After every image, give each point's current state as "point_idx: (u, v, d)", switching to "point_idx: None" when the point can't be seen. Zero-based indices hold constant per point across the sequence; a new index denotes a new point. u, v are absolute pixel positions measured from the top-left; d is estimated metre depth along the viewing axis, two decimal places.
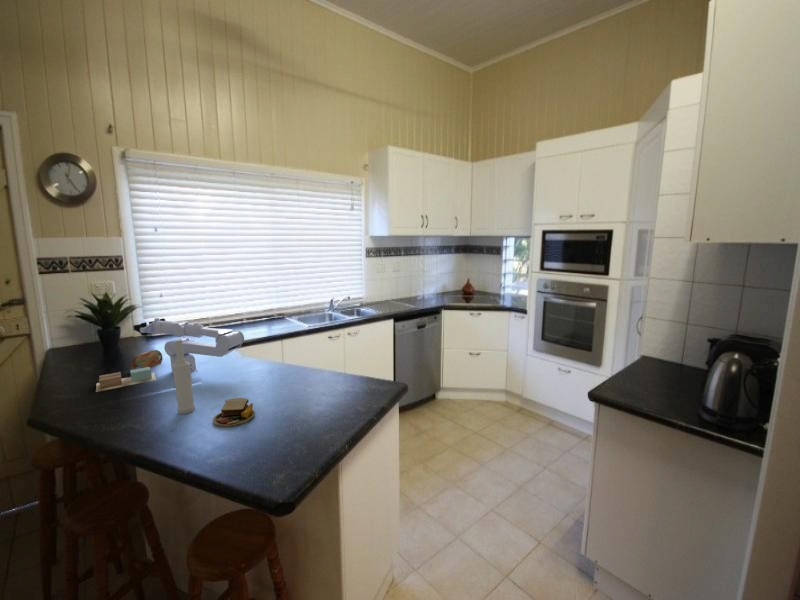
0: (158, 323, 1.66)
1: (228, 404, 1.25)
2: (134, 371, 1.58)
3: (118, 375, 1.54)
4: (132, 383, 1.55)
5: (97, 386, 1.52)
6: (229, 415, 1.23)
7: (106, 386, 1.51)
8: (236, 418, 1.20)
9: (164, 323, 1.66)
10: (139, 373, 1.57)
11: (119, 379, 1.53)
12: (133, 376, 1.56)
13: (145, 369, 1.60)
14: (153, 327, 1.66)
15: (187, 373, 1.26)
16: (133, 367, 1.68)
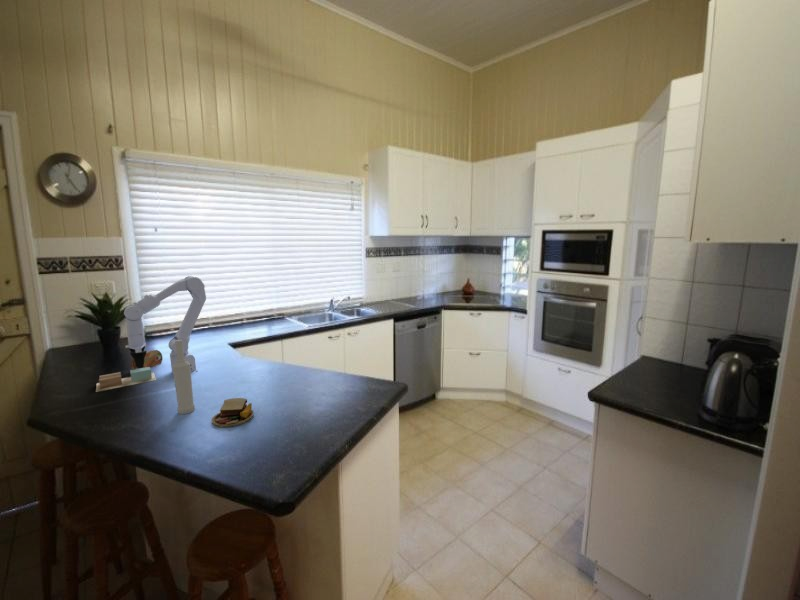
0: (130, 340, 1.55)
1: (227, 404, 1.24)
2: (134, 371, 1.58)
3: (118, 375, 1.54)
4: (132, 383, 1.55)
5: (97, 386, 1.52)
6: (228, 415, 1.22)
7: (106, 386, 1.51)
8: (235, 418, 1.20)
9: (129, 332, 1.54)
10: (139, 373, 1.57)
11: (119, 379, 1.53)
12: (133, 376, 1.56)
13: (145, 369, 1.60)
14: (136, 344, 1.55)
15: (187, 373, 1.26)
16: (133, 367, 1.68)
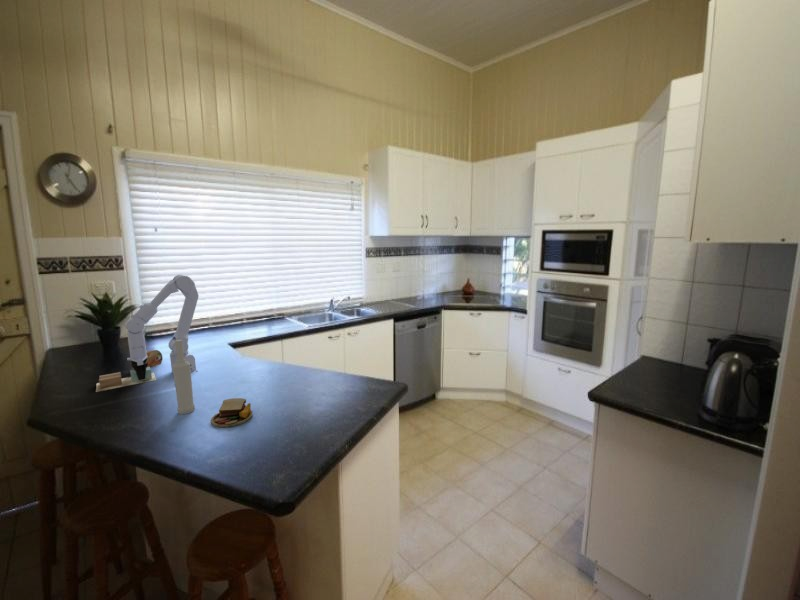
0: (132, 352, 1.55)
1: (226, 404, 1.24)
2: (134, 371, 1.58)
3: (118, 375, 1.54)
4: (132, 383, 1.55)
5: (97, 386, 1.52)
6: (227, 415, 1.22)
7: (106, 386, 1.51)
8: (234, 418, 1.20)
9: (130, 345, 1.55)
10: None
11: (119, 379, 1.53)
12: (133, 376, 1.56)
13: None
14: (137, 357, 1.56)
15: (187, 373, 1.26)
16: None
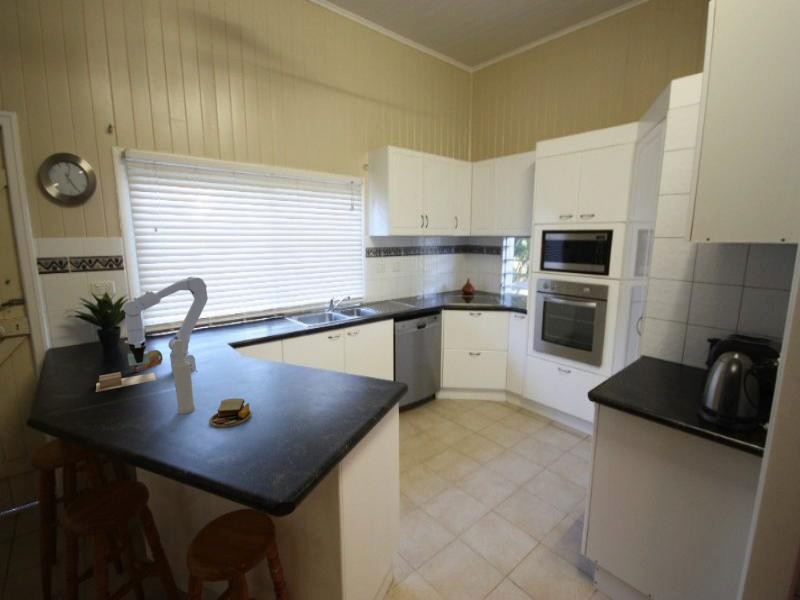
0: (129, 335, 1.54)
1: (224, 405, 1.24)
2: (131, 355, 1.56)
3: (118, 375, 1.54)
4: (132, 383, 1.55)
5: (97, 386, 1.52)
6: (225, 415, 1.22)
7: (106, 386, 1.51)
8: (233, 418, 1.20)
9: (128, 328, 1.54)
10: None
11: (119, 379, 1.53)
12: (130, 359, 1.55)
13: None
14: (135, 340, 1.55)
15: (187, 373, 1.26)
16: (133, 367, 1.68)
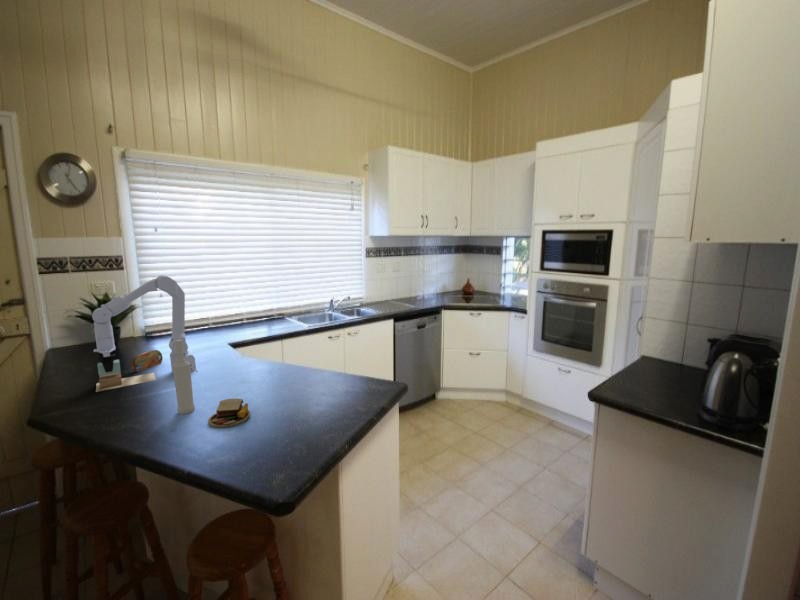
0: (98, 344, 1.49)
1: (223, 405, 1.24)
2: (101, 364, 1.51)
3: (118, 375, 1.54)
4: (132, 383, 1.55)
5: (97, 386, 1.52)
6: (224, 416, 1.22)
7: (106, 386, 1.51)
8: (232, 418, 1.20)
9: (96, 336, 1.49)
10: None
11: (119, 379, 1.53)
12: (100, 369, 1.50)
13: (113, 362, 1.54)
14: (104, 348, 1.50)
15: (187, 373, 1.26)
16: (133, 367, 1.68)
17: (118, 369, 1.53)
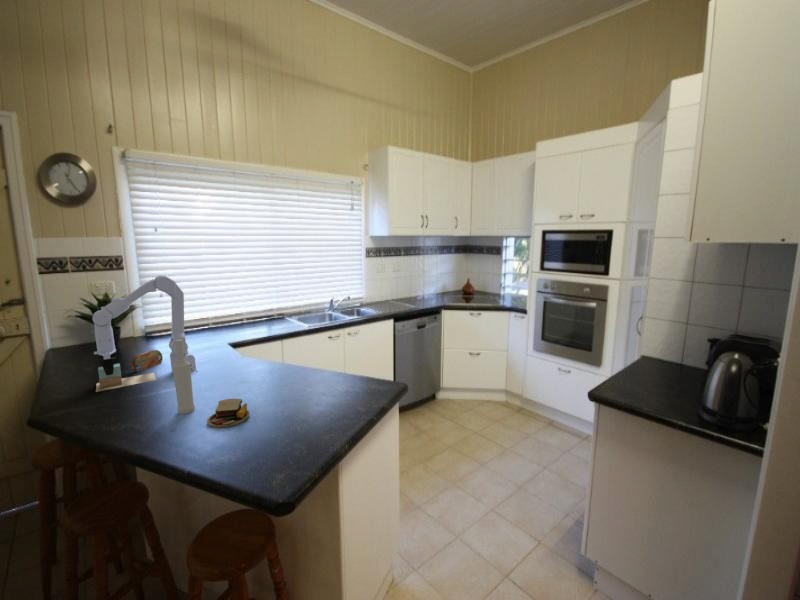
0: (98, 346, 1.49)
1: (222, 405, 1.24)
2: (102, 368, 1.52)
3: None
4: (132, 383, 1.55)
5: (97, 386, 1.52)
6: (223, 416, 1.22)
7: (106, 386, 1.51)
8: (231, 418, 1.20)
9: (97, 338, 1.49)
10: None
11: (119, 379, 1.53)
12: (101, 373, 1.50)
13: (114, 366, 1.54)
14: (104, 350, 1.50)
15: (187, 373, 1.26)
16: (133, 367, 1.68)
17: (119, 373, 1.54)
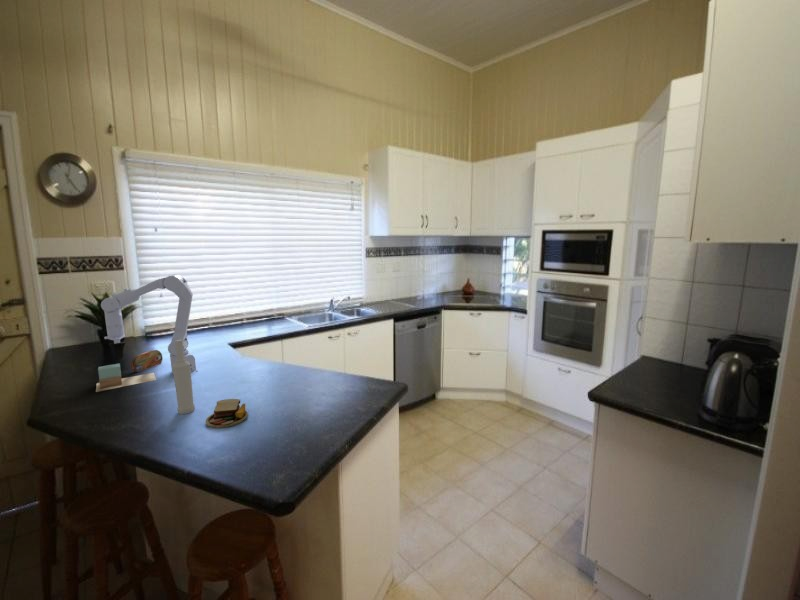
0: (109, 331, 1.56)
1: (220, 405, 1.24)
2: (102, 368, 1.52)
3: None
4: (132, 383, 1.55)
5: (97, 386, 1.52)
6: (222, 416, 1.22)
7: (106, 386, 1.51)
8: (230, 419, 1.20)
9: (106, 323, 1.56)
10: (107, 370, 1.51)
11: (119, 379, 1.53)
12: (101, 373, 1.50)
13: (114, 366, 1.54)
14: (114, 335, 1.57)
15: (187, 373, 1.26)
16: (133, 367, 1.68)
17: (119, 373, 1.54)
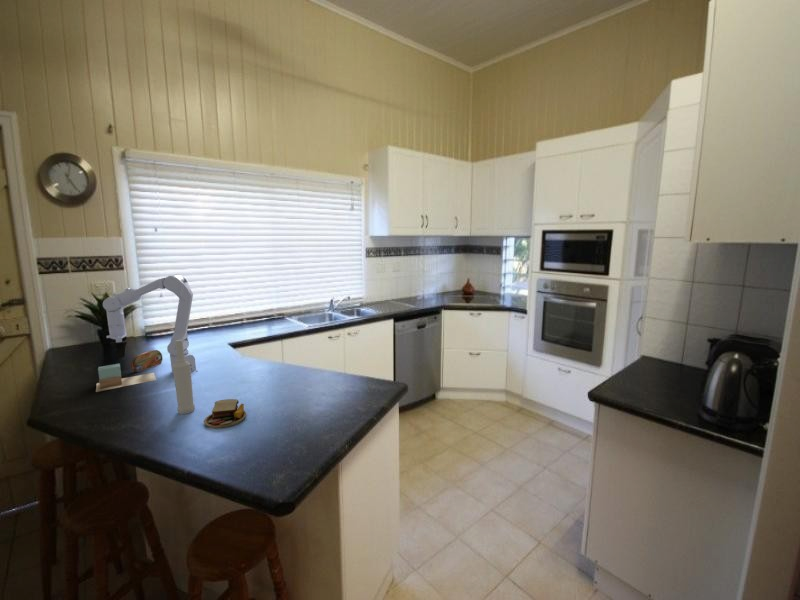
0: (111, 330, 1.58)
1: (218, 406, 1.24)
2: (102, 368, 1.52)
3: None
4: (132, 383, 1.55)
5: (97, 386, 1.52)
6: (220, 416, 1.22)
7: (106, 386, 1.51)
8: (228, 419, 1.20)
9: (108, 323, 1.58)
10: (107, 370, 1.51)
11: (119, 379, 1.53)
12: (101, 373, 1.50)
13: (114, 366, 1.54)
14: (116, 334, 1.59)
15: (187, 373, 1.26)
16: (133, 367, 1.68)
17: (119, 373, 1.54)
